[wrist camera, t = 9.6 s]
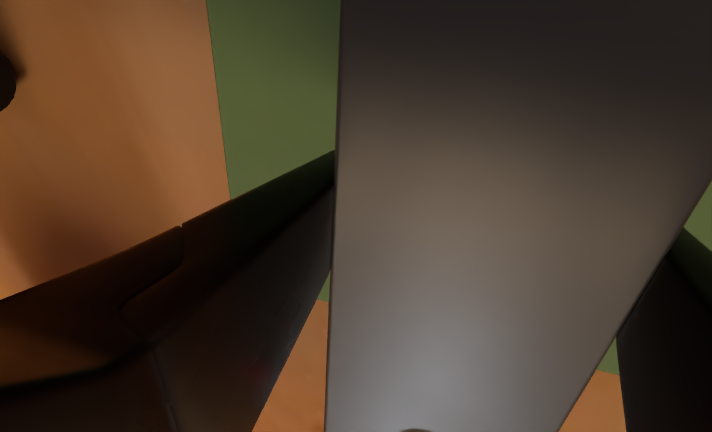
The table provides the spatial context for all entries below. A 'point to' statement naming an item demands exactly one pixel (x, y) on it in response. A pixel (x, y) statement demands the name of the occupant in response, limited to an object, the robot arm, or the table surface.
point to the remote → (503, 200)
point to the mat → (300, 97)
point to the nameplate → (6, 82)
